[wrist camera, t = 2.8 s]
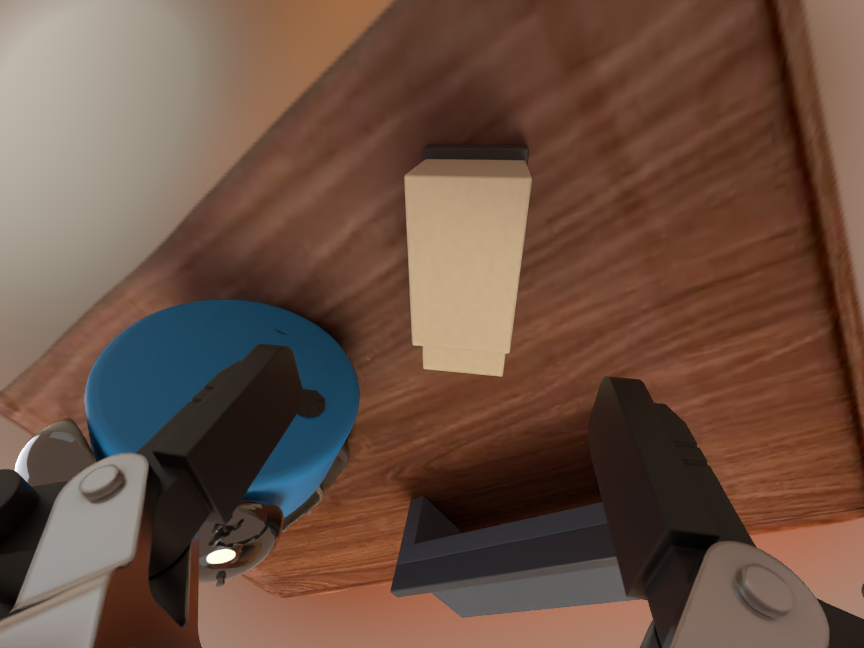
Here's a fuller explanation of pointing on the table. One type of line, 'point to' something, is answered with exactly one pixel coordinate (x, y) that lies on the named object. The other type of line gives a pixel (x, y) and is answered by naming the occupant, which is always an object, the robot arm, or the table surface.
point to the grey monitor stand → (509, 561)
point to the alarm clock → (176, 386)
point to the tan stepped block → (466, 253)
